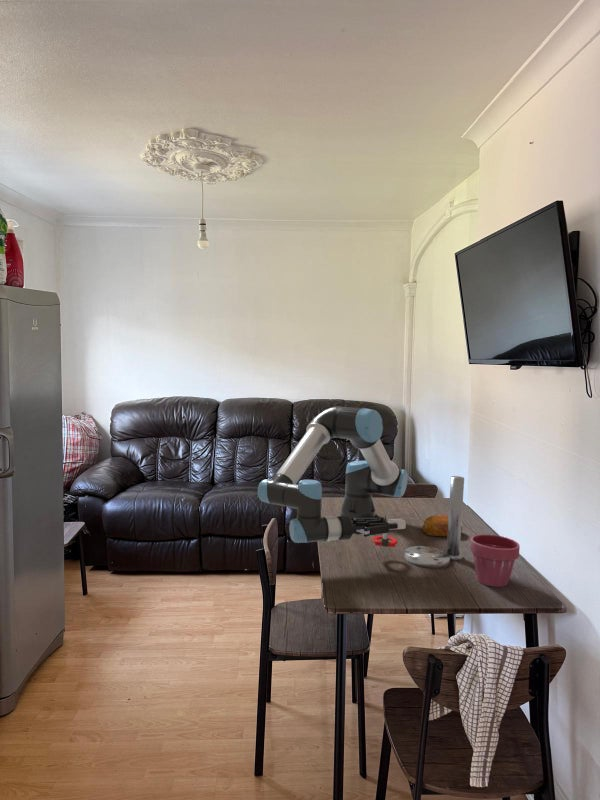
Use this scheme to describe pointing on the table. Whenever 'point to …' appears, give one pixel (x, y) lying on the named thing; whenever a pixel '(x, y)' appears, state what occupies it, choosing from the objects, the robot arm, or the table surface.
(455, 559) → the paper towel holder
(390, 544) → the tow hook
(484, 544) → the plant pot
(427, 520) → the croissant
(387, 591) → the table surface
